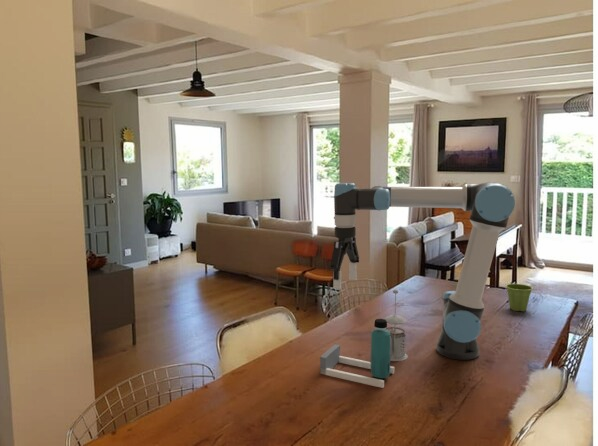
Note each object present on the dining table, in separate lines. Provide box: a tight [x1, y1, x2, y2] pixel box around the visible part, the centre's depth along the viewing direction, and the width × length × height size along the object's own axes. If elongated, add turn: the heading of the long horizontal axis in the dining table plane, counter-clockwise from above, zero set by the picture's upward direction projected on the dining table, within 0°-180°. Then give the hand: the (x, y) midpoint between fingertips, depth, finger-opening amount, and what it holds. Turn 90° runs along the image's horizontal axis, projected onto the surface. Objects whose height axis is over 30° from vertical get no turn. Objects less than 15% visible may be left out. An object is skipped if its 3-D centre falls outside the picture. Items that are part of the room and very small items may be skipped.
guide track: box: [319, 343, 395, 389], centre depth 158 cm, size 22×12×6 cm, turn 62°
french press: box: [383, 289, 408, 362], centre depth 170 cm, size 10×12×25 cm
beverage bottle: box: [369, 318, 391, 379], centre depth 154 cm, size 6×7×20 cm
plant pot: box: [505, 283, 534, 312], centre depth 225 cm, size 12×12×11 cm
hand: (345, 283), depth 171 cm, fingers open, 13 cm apart
